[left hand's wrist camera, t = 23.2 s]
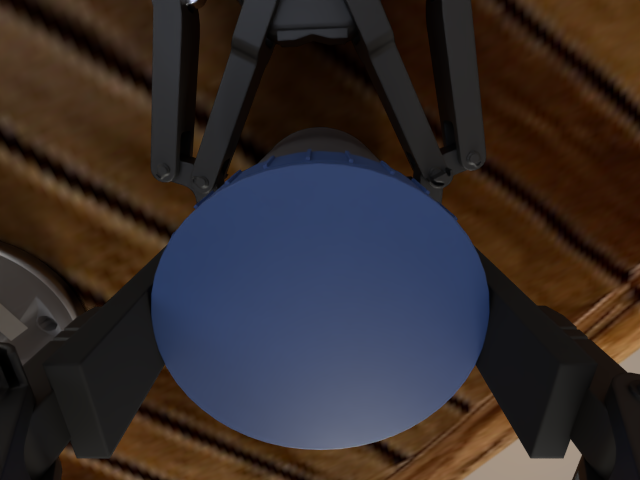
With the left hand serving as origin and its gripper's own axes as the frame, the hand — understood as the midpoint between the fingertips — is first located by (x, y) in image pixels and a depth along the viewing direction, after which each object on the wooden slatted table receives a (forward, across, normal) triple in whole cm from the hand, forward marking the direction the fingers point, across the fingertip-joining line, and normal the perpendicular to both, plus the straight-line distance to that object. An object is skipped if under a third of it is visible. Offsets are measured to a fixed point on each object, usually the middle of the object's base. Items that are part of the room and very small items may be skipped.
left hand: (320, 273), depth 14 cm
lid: (-3, 0, 0) cm, 3 cm away
